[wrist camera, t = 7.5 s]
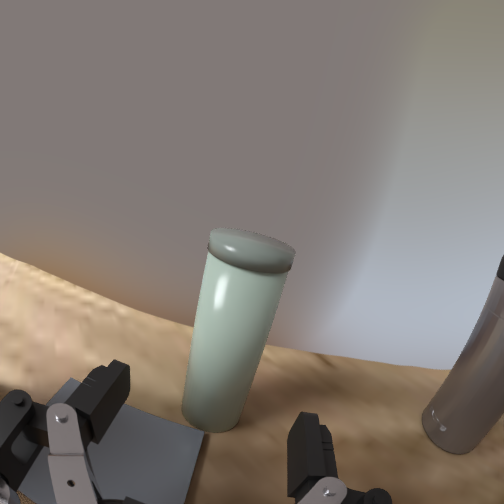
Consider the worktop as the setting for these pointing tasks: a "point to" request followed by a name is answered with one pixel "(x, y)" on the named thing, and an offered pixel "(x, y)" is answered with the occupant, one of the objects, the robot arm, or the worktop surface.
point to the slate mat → (128, 458)
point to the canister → (232, 324)
